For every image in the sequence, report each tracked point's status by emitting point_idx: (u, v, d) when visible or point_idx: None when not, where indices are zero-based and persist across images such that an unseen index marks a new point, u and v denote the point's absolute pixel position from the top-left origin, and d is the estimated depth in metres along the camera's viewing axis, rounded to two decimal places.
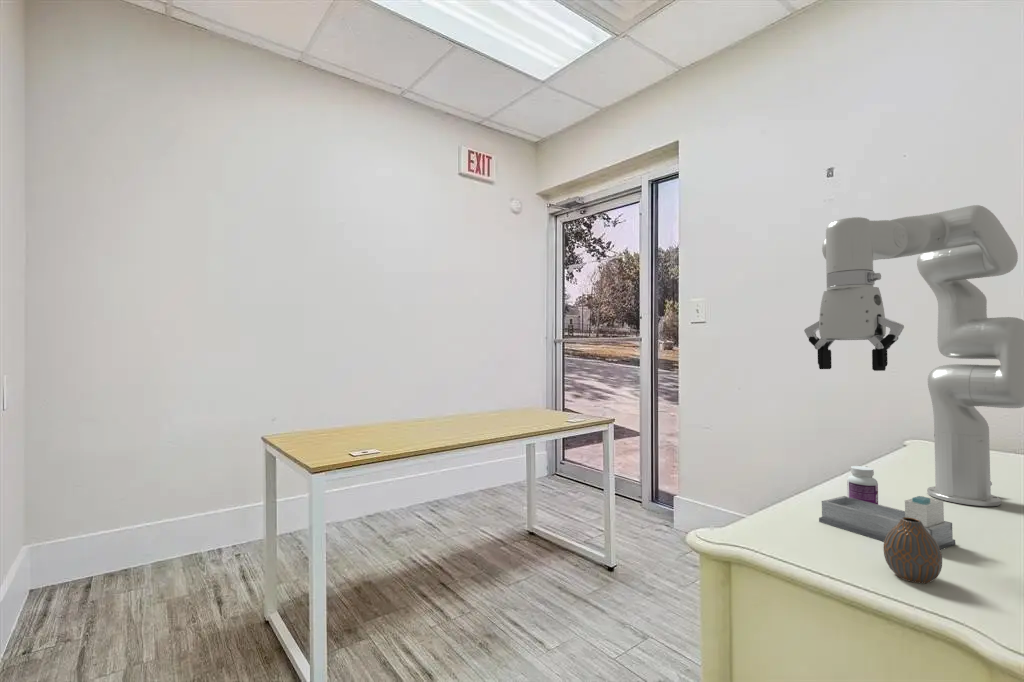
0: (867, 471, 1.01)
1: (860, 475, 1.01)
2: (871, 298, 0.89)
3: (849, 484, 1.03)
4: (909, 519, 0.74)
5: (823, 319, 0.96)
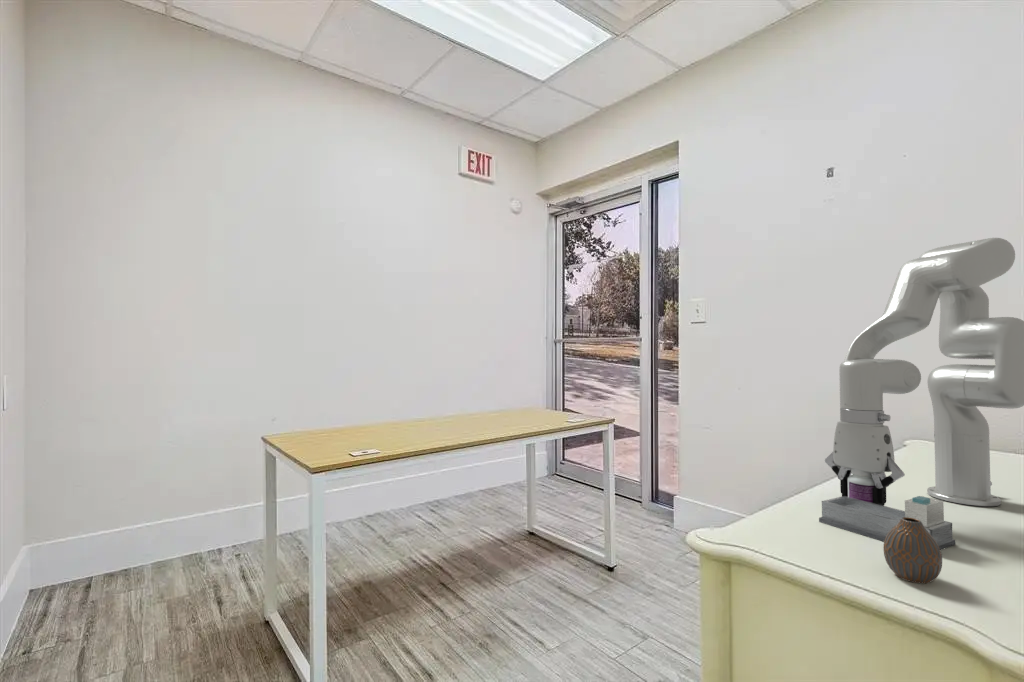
0: None
1: (860, 475, 1.01)
2: (881, 438, 0.98)
3: (849, 484, 1.03)
4: (909, 519, 0.74)
5: (837, 448, 1.05)
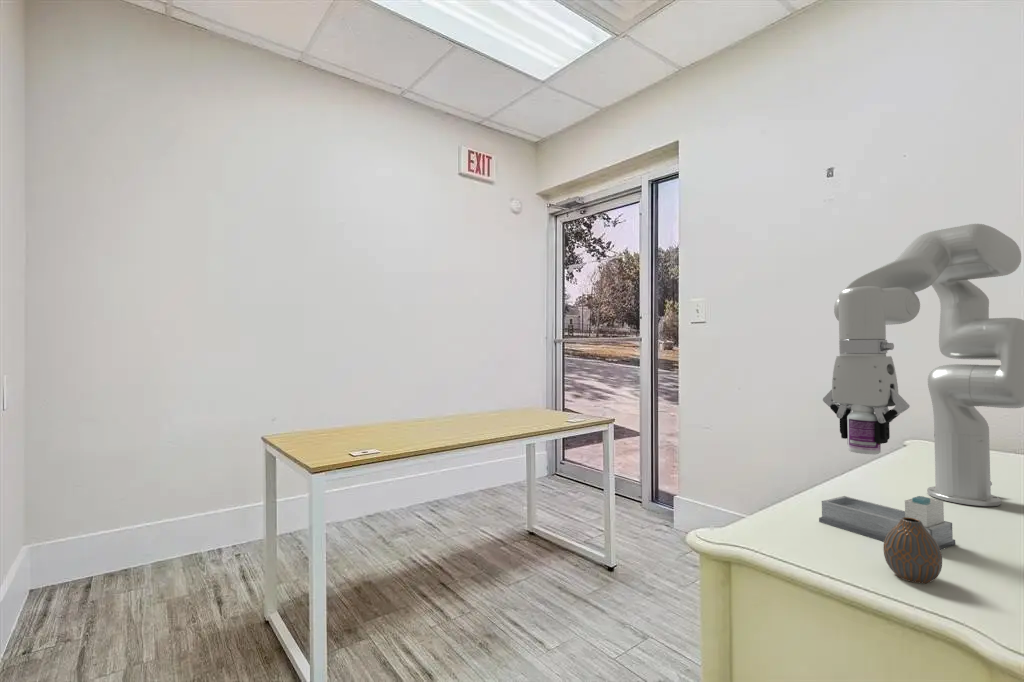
0: None
1: (861, 410, 0.93)
2: (884, 368, 0.90)
3: (849, 421, 0.95)
4: (909, 519, 0.74)
5: (836, 383, 0.97)
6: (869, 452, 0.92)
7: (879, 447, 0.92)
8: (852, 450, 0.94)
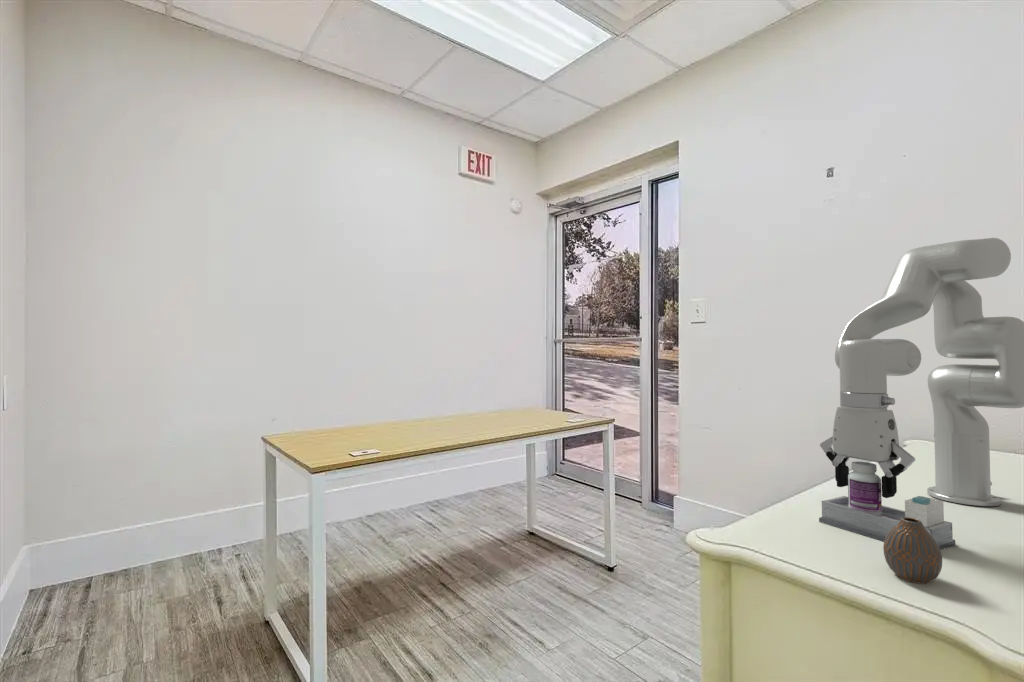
0: (869, 467, 0.93)
1: (862, 471, 0.93)
2: (885, 423, 0.90)
3: (850, 481, 0.95)
4: (909, 519, 0.74)
5: (837, 435, 0.97)
6: None
7: (880, 509, 0.92)
8: None
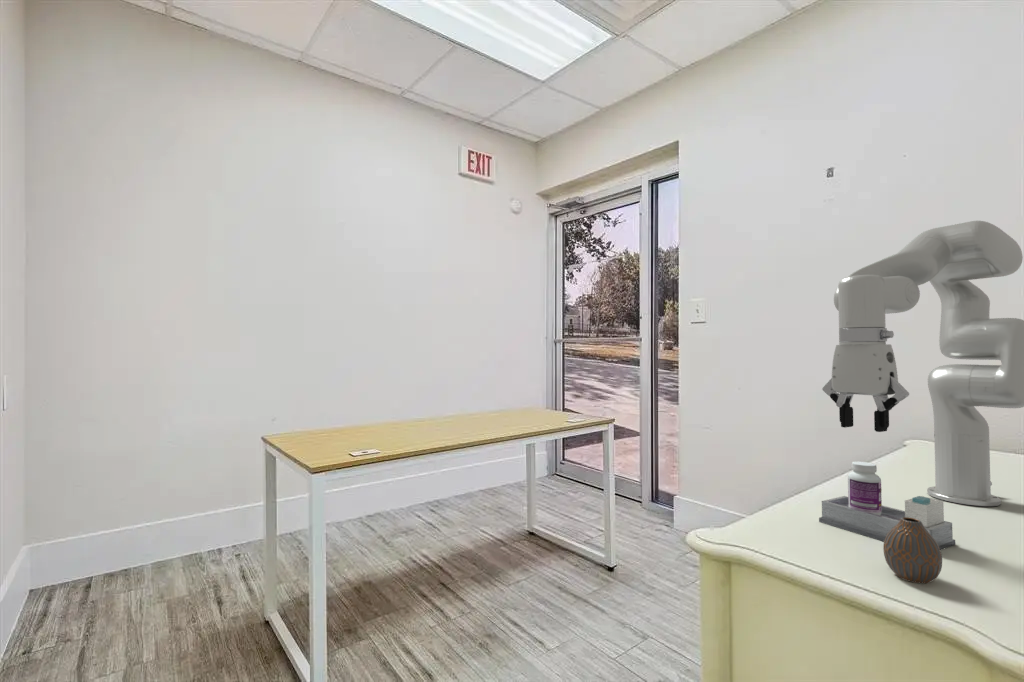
0: (869, 467, 0.93)
1: (862, 471, 0.93)
2: (884, 356, 0.90)
3: (850, 481, 0.95)
4: (909, 519, 0.74)
5: (836, 372, 0.97)
6: None
7: (880, 509, 0.92)
8: None
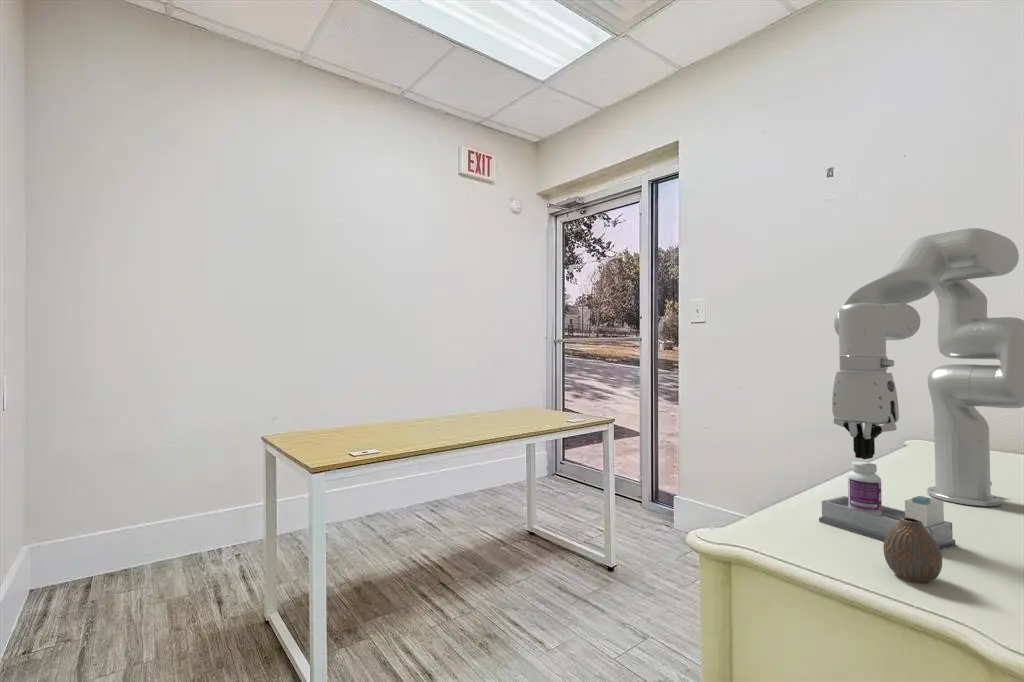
0: (869, 467, 0.93)
1: (862, 471, 0.93)
2: (884, 385, 0.90)
3: (850, 481, 0.95)
4: (909, 519, 0.74)
5: (836, 399, 0.97)
6: None
7: (880, 509, 0.92)
8: None
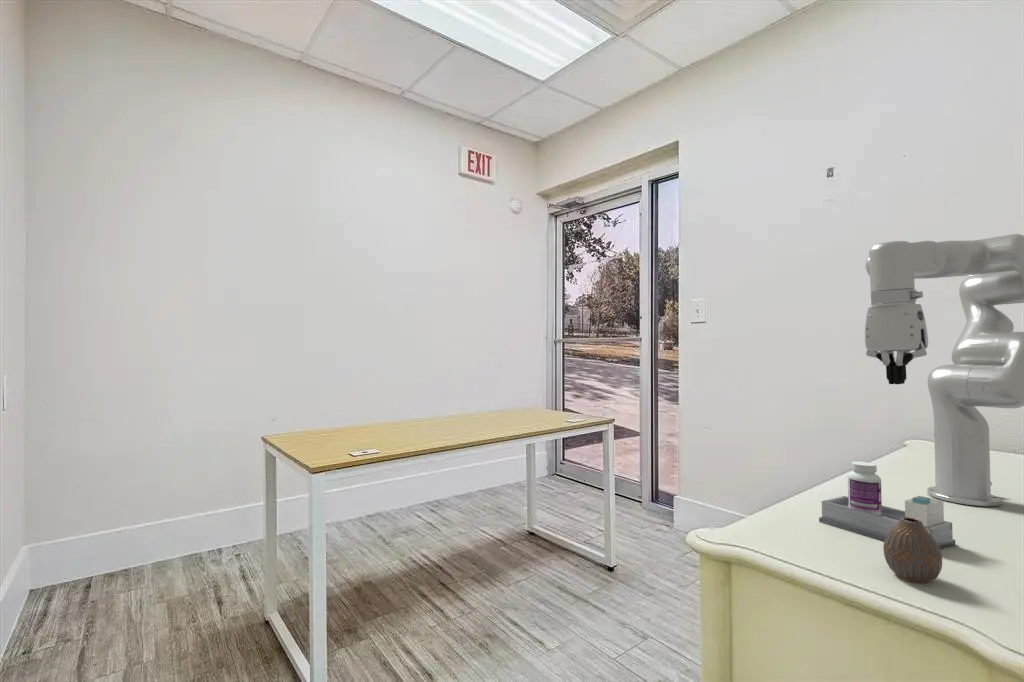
0: (869, 467, 0.93)
1: (862, 471, 0.93)
2: (915, 314, 0.99)
3: (850, 481, 0.95)
4: (909, 519, 0.74)
5: (869, 332, 1.06)
6: None
7: (880, 509, 0.92)
8: None
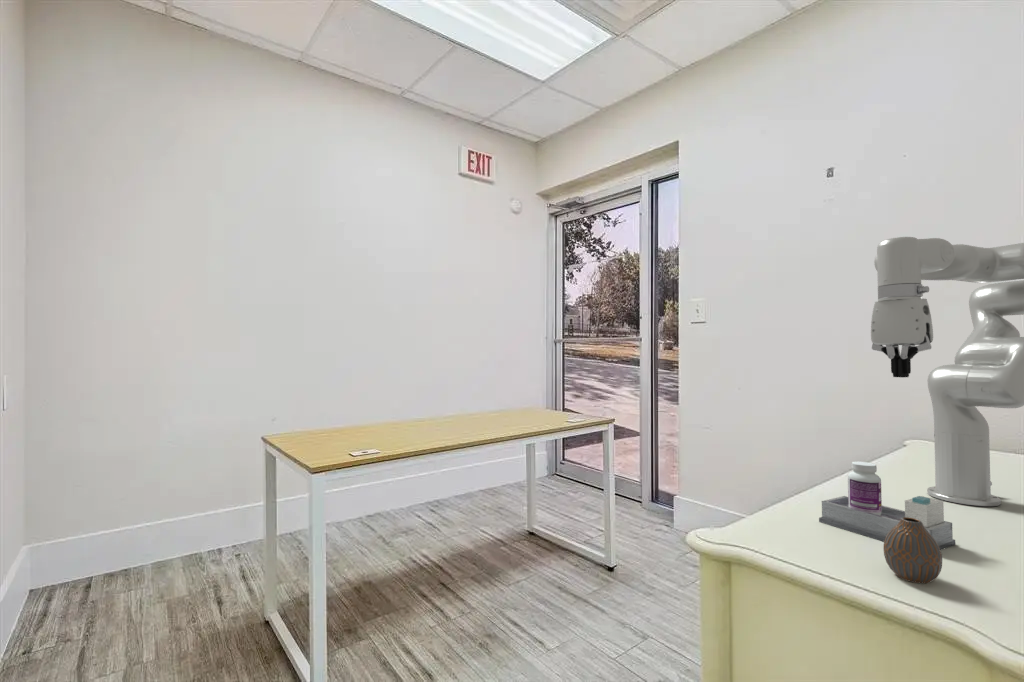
0: (869, 467, 0.93)
1: (862, 471, 0.93)
2: (921, 308, 1.01)
3: (850, 481, 0.95)
4: (909, 519, 0.74)
5: (875, 326, 1.08)
6: None
7: (880, 509, 0.92)
8: None
